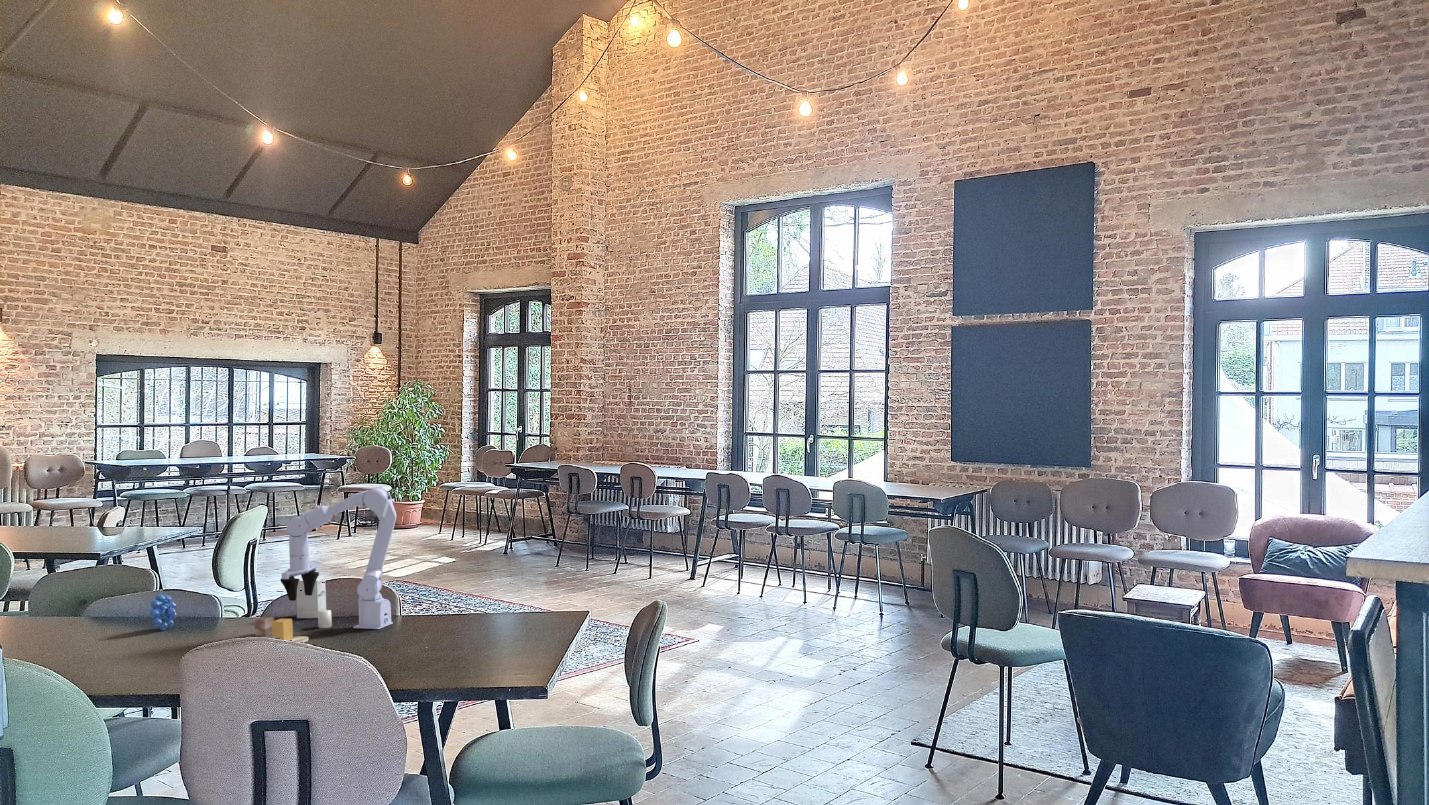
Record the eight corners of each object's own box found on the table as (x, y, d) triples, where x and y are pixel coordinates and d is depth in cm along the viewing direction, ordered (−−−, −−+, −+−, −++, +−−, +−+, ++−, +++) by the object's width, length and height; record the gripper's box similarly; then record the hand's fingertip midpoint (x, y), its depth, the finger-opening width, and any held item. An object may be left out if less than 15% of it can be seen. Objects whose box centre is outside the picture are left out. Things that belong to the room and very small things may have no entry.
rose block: (274, 633, 319) (274, 617, 319) (265, 636, 315) (265, 620, 315) (264, 632, 320) (263, 616, 320) (254, 635, 316) (254, 619, 316)
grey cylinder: (334, 625, 327) (333, 610, 327) (326, 628, 323) (325, 612, 323) (323, 625, 328) (323, 609, 328) (315, 628, 324) (315, 612, 324)
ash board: (308, 640, 307) (308, 636, 307) (285, 649, 298) (285, 645, 298) (280, 639, 310) (280, 635, 310) (257, 647, 301) (257, 643, 301)
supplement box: (318, 618, 339) (317, 580, 338) (296, 618, 339) (295, 581, 339) (327, 613, 346) (326, 576, 346) (305, 613, 346) (304, 576, 346)
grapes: (164, 634, 321) (163, 596, 321) (144, 634, 322) (143, 597, 322) (187, 626, 332) (186, 589, 332) (168, 626, 333) (167, 589, 333)
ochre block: (292, 638, 305) (292, 618, 305) (283, 642, 301) (283, 622, 301) (281, 638, 306) (281, 618, 306) (272, 641, 303) (271, 621, 302)
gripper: (303, 550, 329) (305, 592, 329) (272, 558, 315) (274, 602, 315) (322, 551, 327) (323, 593, 327) (291, 559, 313) (293, 602, 313)
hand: (300, 597), depth 321 cm, fingers open, 7 cm apart
